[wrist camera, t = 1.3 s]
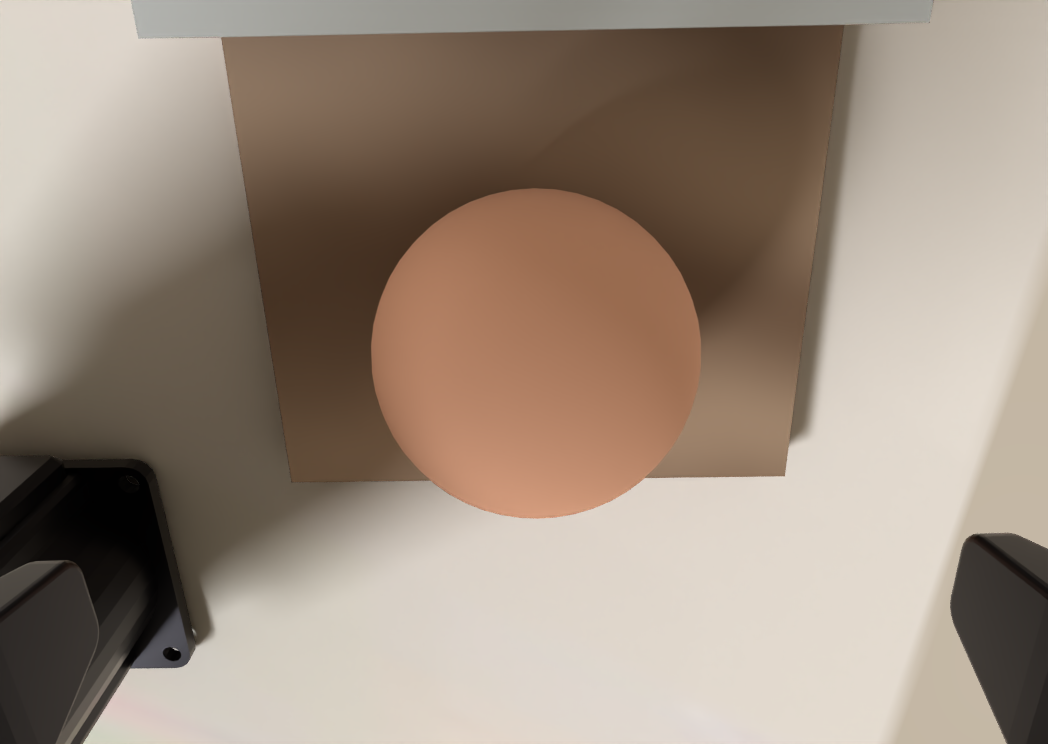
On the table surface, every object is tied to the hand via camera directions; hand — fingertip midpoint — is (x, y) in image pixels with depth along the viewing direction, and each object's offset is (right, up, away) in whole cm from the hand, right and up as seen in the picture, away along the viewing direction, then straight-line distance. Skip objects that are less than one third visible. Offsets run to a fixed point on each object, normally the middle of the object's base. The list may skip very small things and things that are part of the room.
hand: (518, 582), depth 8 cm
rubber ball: (0, +3, +7) cm, 7 cm away
